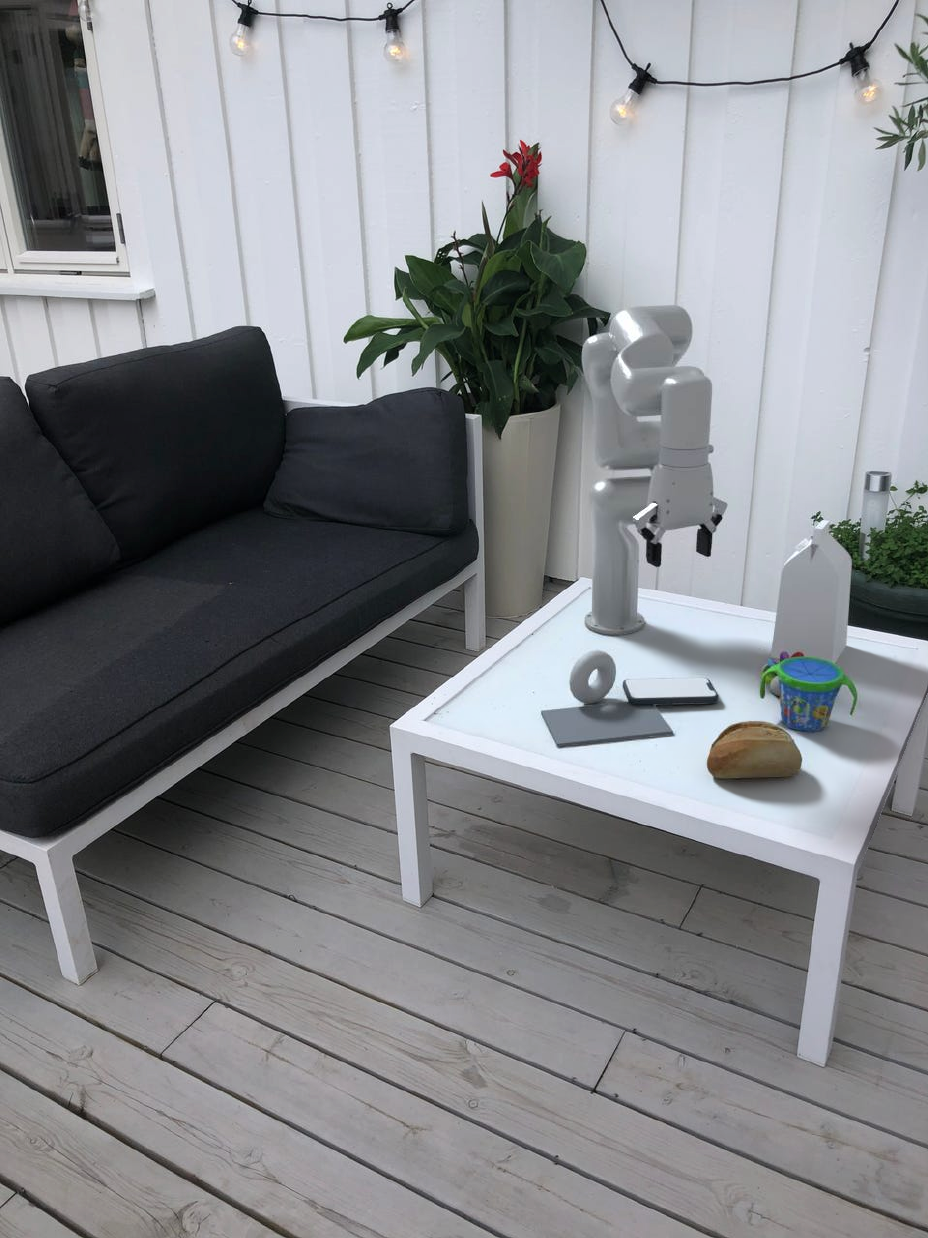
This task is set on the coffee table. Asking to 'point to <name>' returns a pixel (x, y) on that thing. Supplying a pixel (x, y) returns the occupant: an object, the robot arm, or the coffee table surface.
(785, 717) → the snack cup
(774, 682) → the multicolored rounded-lobe toy
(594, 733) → the mat
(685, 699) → the smartphone
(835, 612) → the milk
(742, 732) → the bread roll
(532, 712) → the coffee table surface
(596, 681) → the donut
